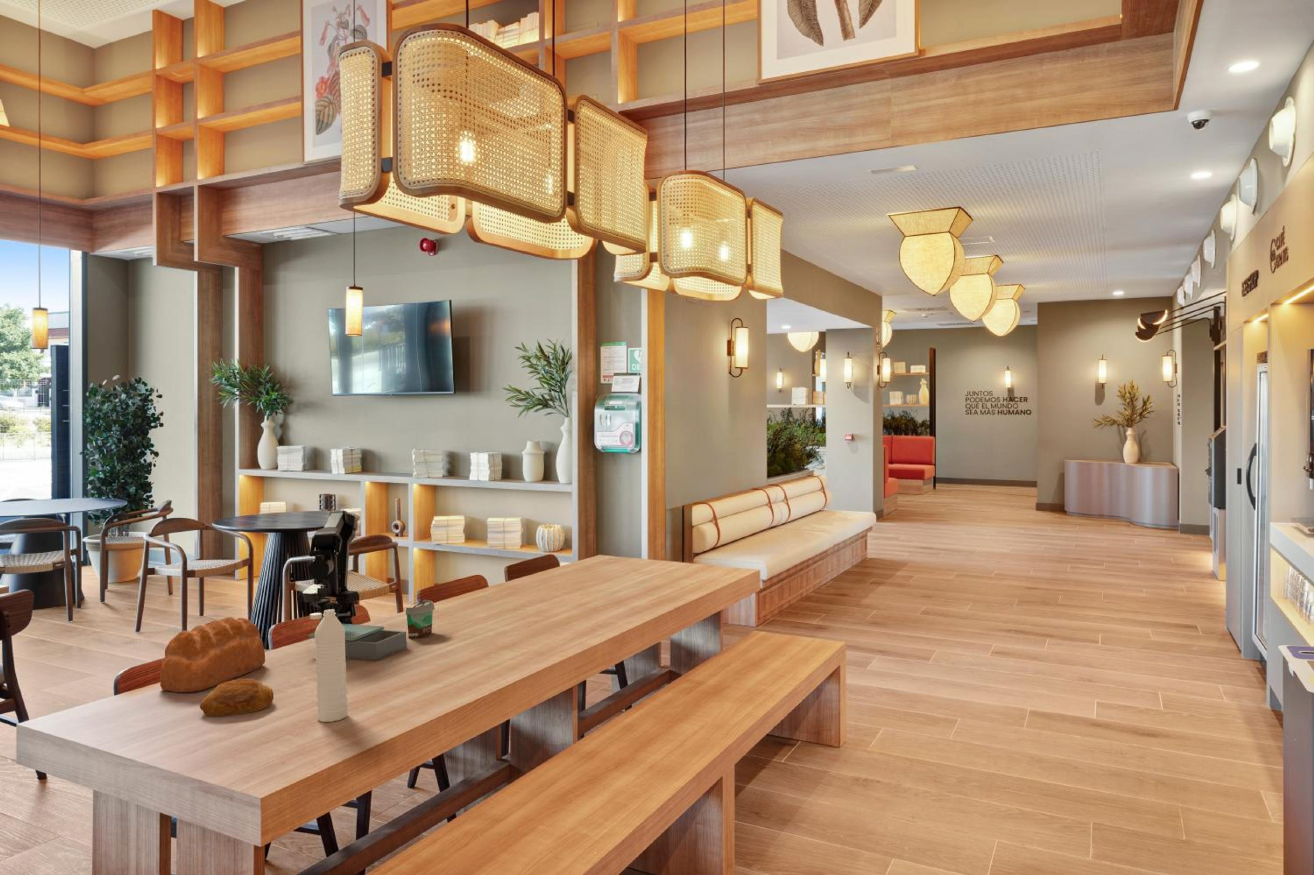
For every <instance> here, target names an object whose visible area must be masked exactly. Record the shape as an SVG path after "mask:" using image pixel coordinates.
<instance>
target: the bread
mask: <svg viewBox="0 0 1314 875" xmlns="http://www.w3.org/2000/svg"><path fill="white" fill-rule="evenodd" d="M260 637H261V633H260V631H259V629H258V626H257V625H256V624H254V623H253V622H251V621H250V620H249V619H247V618H245V617H237V618H234V617H232V616H229V617H225V618H221V619H220V620H213V621H209V622H207V623H205V624H204V625H195V626H194V627H193V628H192V629H191V630H190V631H188V630H185V629H184V630H181V631H180V632H179V633H177V634H176V635H175V636H174V637H173V638H171V640H169V642H168V643H167V645H166V647H165V650H164V660H163V662H162V663H161V667H160V674H159V675H160V676H159V677H160V683H159V684H160V688H161V690H163V691H167V692H175V693H196V692H201V691H204V690H207V689H209V688H212V687H214V686H217V685H219V684H221V683H224V682H228V681H232V680H234V678H237V677H240V676H244V675H245V674H248V673H251V672H253V671H255V670H257V669H259V668H261V667H263V665H264V664H265V663H266V653H265V648H264V642H263V640H262V639H261V638H260Z"/></svg>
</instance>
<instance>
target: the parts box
mask: <svg viewBox="0 0 1314 875" xmlns="http://www.w3.org/2000/svg"><path fill="white" fill-rule="evenodd" d="M407 644H408V642H407V631H400V630H387V629H383V630H381V631H378V632H375V633H373V634H370V635H367V636H365V637H362V638H360V639H357V640H354V641H349V640H345V655H346V656H345V658H346V659H348V660H349V659H350V660H359V661H371V662H374V661H375V662H378V661H381V660H382V659H384V658H387V657H390V656H391V655H394V654H396V653H399V652H401V651H403V650H406V649H407V647H408V645H407Z"/></svg>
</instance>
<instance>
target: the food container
mask: <svg viewBox="0 0 1314 875" xmlns="http://www.w3.org/2000/svg"><path fill="white" fill-rule="evenodd" d="M435 609H436V607H435V604H434V602H433V601H432V600H428V599H423V600H422V603H420V604H415V605H413V607H405V615H406V619H407V620H406V621H407V622H406V623H407V624H406V625H407V633H408V634H407V635H408V639H414V640H415V639H422V638H423V639H424V638H427V637H429V636H432V633H433V613H434V612H433V611H435Z"/></svg>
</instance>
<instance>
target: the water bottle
mask: <svg viewBox="0 0 1314 875" xmlns="http://www.w3.org/2000/svg"><path fill="white" fill-rule="evenodd" d="M335 614H336V613H335V610H334V609H329V610H325V611H324V614H323V615H324V617H323V619H322V620H321V622H320V621H319V624H318V625H317V627H316V629H315V631H314V633H315V638H314V642H315V645H314V646H315V674H316V676H315V677H316V678H315V682H316V698H317V700H316V707H317V709H316V713H317V714H316V718H317V721H320V722H323V723H326V722H327V723H330V722H331V723H332V722H335V721H336V722H337V721H342V720H343V719H345V718H347V716H348V697H347V694H348V692H347V691H348V689H347V661H346V659H347V658H345V656H346V655H345V629H344V627H343V625H342V624H341V622H340V621H339V620H338V619H337V617H336V616H335ZM320 618H322V614H321V613H320V612H313V613H310V614H309V619H310V620H320Z"/></svg>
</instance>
